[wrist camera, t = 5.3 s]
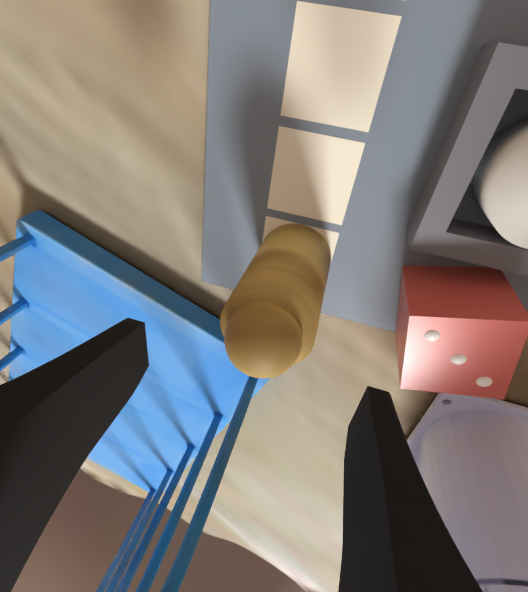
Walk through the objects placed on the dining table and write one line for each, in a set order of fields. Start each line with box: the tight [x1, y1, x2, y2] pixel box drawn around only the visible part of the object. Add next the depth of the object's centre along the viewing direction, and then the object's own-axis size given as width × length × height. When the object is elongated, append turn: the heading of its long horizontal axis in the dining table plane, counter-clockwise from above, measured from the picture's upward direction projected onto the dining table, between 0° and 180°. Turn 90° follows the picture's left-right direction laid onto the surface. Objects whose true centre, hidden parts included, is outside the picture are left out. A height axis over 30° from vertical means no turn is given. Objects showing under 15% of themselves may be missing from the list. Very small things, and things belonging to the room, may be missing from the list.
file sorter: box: [0, 210, 270, 592], centre depth 23 cm, size 25×17×15 cm
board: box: [202, 0, 528, 332], centre depth 14 cm, size 18×16×1 cm
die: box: [396, 266, 528, 399], centre depth 15 cm, size 4×4×4 cm
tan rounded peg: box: [220, 223, 331, 379], centre depth 14 cm, size 4×4×8 cm
